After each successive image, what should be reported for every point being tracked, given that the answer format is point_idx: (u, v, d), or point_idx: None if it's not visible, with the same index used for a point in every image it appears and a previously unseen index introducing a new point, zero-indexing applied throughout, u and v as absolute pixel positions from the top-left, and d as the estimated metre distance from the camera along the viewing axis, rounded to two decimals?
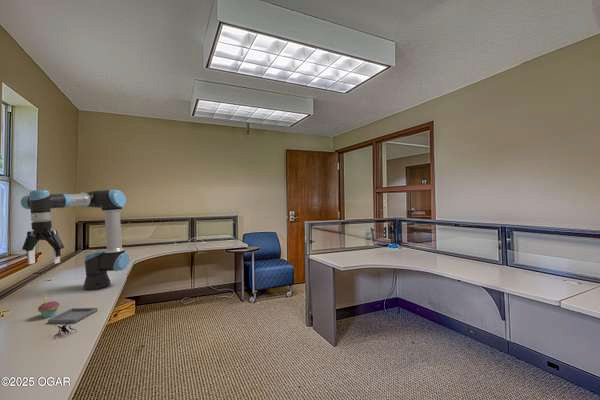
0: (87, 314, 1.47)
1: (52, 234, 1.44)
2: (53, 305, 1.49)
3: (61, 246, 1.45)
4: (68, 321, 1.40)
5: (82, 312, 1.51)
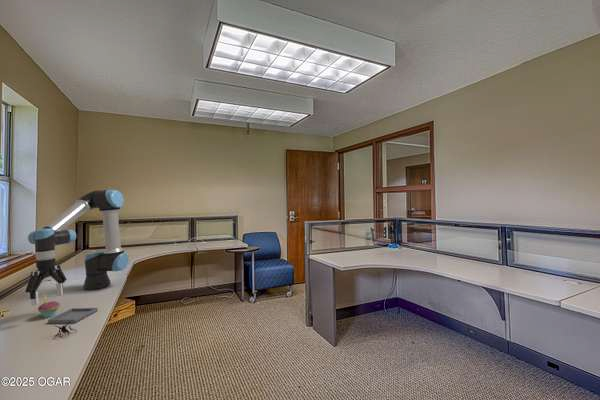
0: (87, 314, 1.47)
1: None
2: (53, 305, 1.49)
3: (27, 290, 1.40)
4: (68, 321, 1.40)
5: (82, 312, 1.51)
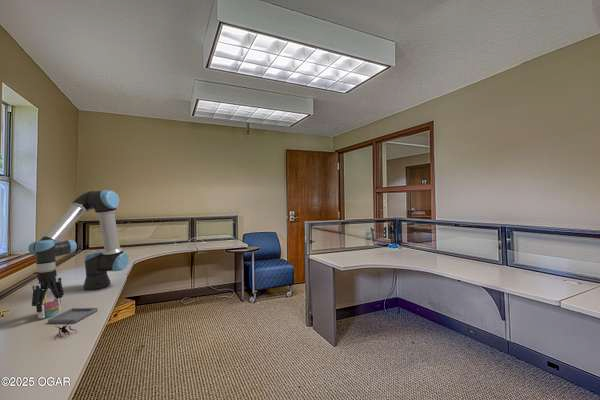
0: (87, 314, 1.47)
1: None
2: (53, 305, 1.49)
3: (34, 304, 1.43)
4: (68, 321, 1.40)
5: (82, 312, 1.51)
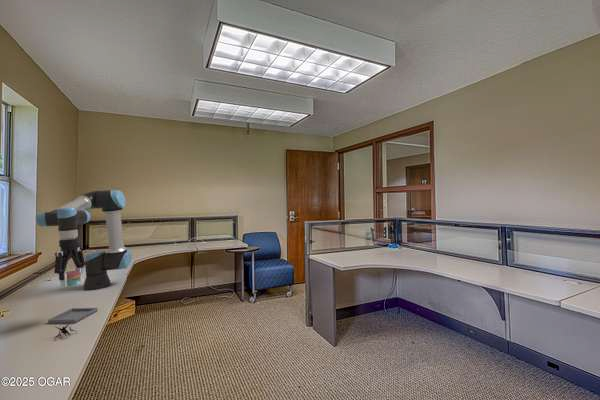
0: (87, 314, 1.47)
1: None
2: (75, 274, 1.45)
3: (56, 271, 1.39)
4: (68, 321, 1.40)
5: (82, 312, 1.51)
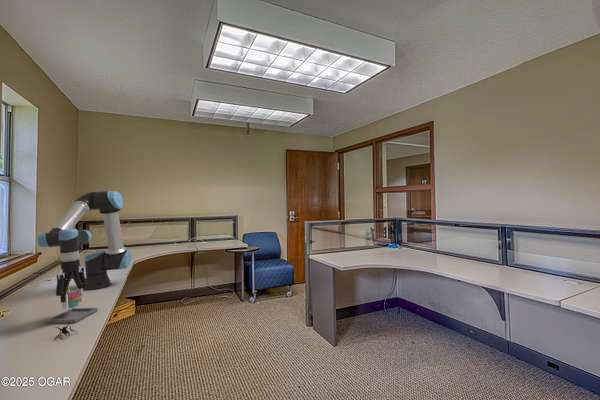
0: (87, 314, 1.47)
1: None
2: (76, 295, 1.46)
3: (58, 293, 1.39)
4: (68, 321, 1.40)
5: (82, 312, 1.51)
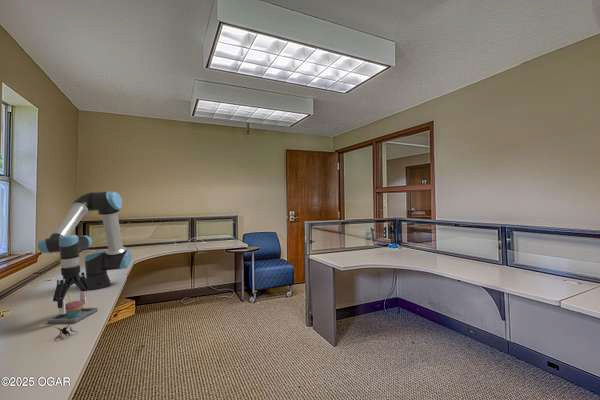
0: (87, 314, 1.47)
1: None
2: (78, 305, 1.46)
3: (55, 299, 1.38)
4: (68, 321, 1.40)
5: (82, 312, 1.51)
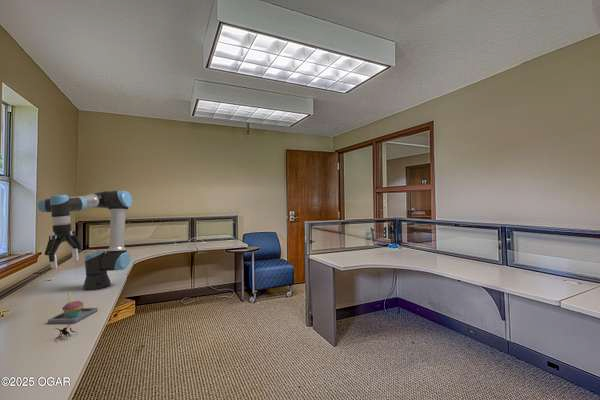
0: (87, 314, 1.47)
1: None
2: (78, 305, 1.46)
3: (46, 253, 1.44)
4: (68, 321, 1.40)
5: (82, 312, 1.51)
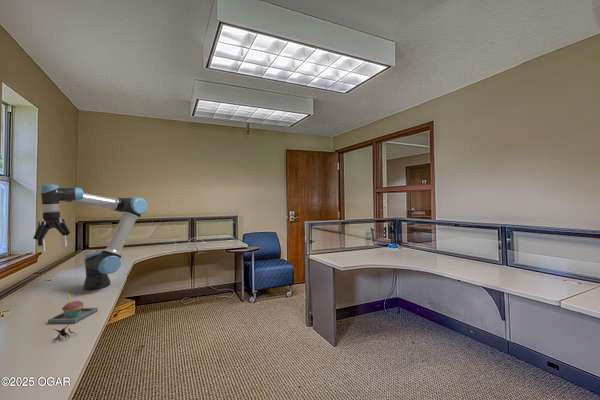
0: (87, 314, 1.47)
1: None
2: (78, 305, 1.46)
3: (35, 237, 1.56)
4: (68, 321, 1.40)
5: (82, 312, 1.51)
